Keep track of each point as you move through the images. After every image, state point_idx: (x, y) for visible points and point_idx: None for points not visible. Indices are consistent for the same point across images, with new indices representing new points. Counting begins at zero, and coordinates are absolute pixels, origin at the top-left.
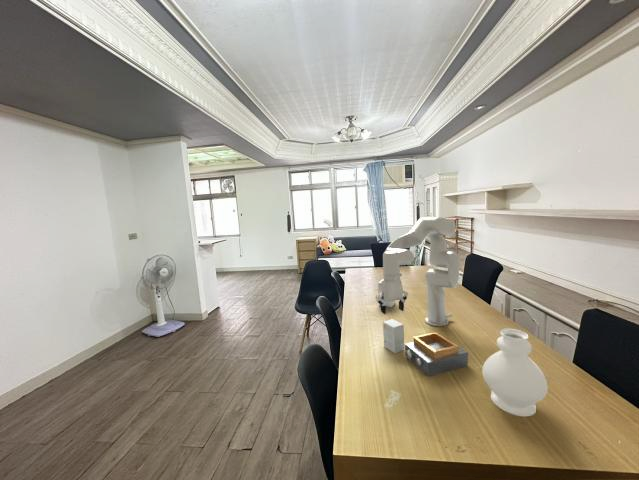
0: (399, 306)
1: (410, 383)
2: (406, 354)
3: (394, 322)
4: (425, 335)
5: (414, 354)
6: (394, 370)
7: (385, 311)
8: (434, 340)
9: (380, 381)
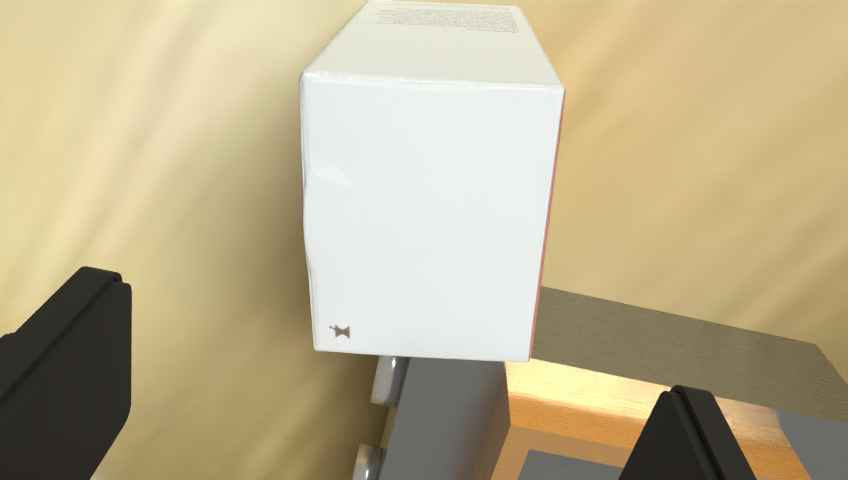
0: (675, 478)
1: (216, 473)
2: None
3: (457, 237)
4: None
5: (387, 437)
6: (203, 343)
7: (94, 459)
8: None
9: None
